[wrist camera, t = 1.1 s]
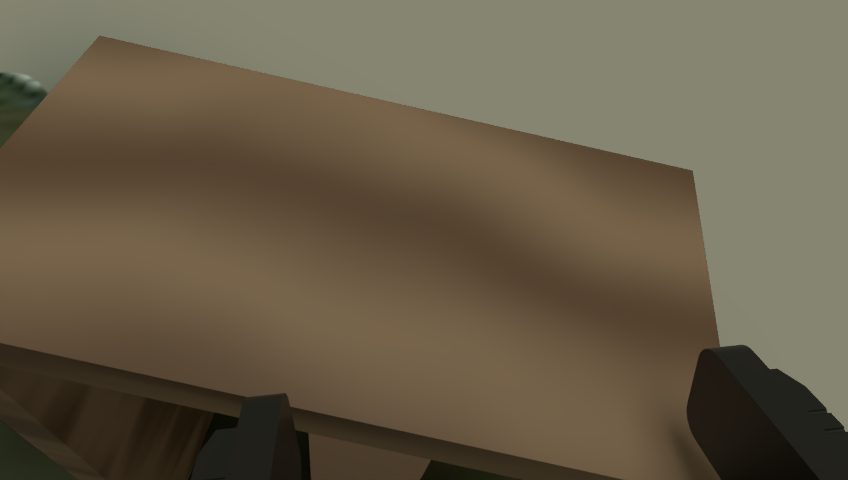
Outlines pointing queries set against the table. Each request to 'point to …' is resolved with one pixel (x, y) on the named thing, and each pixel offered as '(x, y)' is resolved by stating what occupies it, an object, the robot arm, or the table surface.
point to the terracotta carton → (360, 461)
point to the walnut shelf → (339, 279)
